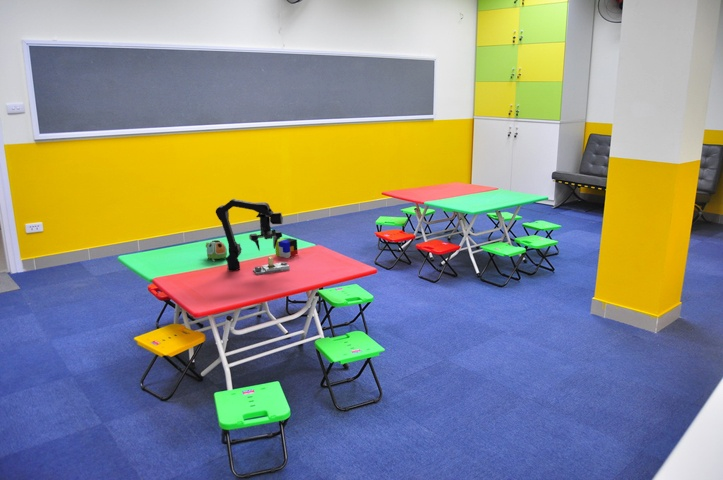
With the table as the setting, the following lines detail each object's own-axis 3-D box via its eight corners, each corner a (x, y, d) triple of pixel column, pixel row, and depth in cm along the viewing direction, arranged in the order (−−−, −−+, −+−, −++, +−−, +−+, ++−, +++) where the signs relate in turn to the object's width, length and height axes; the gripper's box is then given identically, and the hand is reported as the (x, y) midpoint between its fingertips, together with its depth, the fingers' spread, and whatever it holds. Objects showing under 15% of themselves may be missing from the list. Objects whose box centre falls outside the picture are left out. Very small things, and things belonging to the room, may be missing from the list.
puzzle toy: (286, 258, 367) (286, 243, 364) (275, 255, 373) (274, 240, 370) (297, 254, 375) (296, 239, 372) (286, 252, 381) (285, 237, 378)
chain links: (256, 274, 335) (256, 269, 334) (253, 270, 343) (252, 265, 342) (289, 269, 343) (289, 264, 342) (285, 265, 351) (284, 261, 350)
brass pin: (269, 271, 341) (268, 258, 339) (268, 269, 344) (267, 257, 342) (274, 270, 342) (273, 257, 340) (273, 269, 345) (272, 256, 343)
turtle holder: (217, 253, 381) (215, 236, 378) (231, 258, 369) (229, 241, 365) (200, 257, 373) (198, 240, 370) (214, 263, 360) (212, 245, 357)
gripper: (252, 228, 327) (254, 255, 331) (284, 225, 335) (285, 250, 339) (248, 224, 337) (250, 250, 341) (279, 221, 344) (280, 246, 348)
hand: (266, 249), depth 342 cm, fingers open, 9 cm apart
